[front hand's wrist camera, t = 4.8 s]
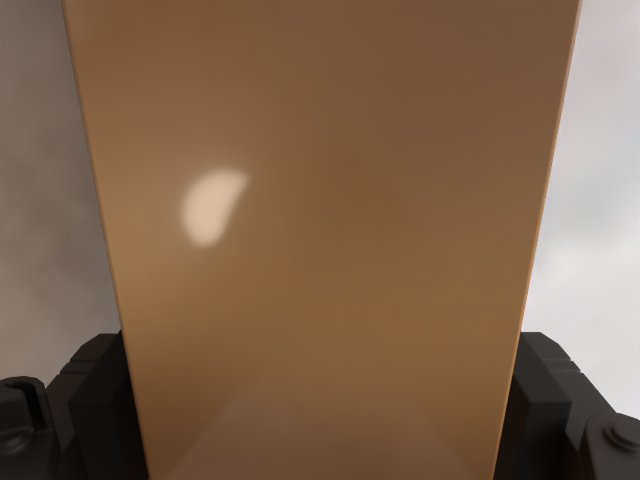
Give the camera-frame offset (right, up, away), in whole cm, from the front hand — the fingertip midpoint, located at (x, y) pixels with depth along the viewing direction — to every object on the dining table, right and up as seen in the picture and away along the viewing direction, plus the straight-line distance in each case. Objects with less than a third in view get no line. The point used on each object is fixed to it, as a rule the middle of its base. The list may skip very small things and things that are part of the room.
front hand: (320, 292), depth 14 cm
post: (0, +19, -7) cm, 20 cm away
